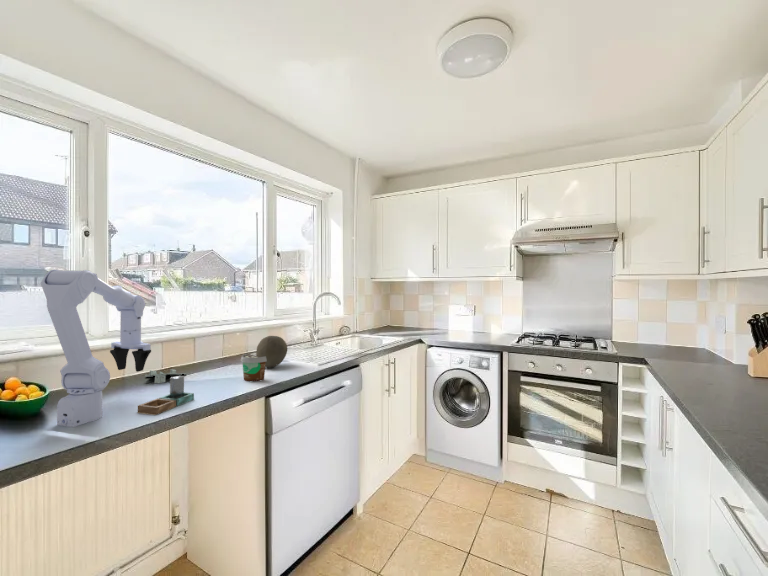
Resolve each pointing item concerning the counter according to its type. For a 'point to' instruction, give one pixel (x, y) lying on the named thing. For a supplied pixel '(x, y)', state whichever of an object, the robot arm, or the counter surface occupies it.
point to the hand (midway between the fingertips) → (130, 370)
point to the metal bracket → (161, 375)
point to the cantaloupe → (272, 350)
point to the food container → (253, 367)
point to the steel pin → (176, 387)
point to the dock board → (163, 404)
